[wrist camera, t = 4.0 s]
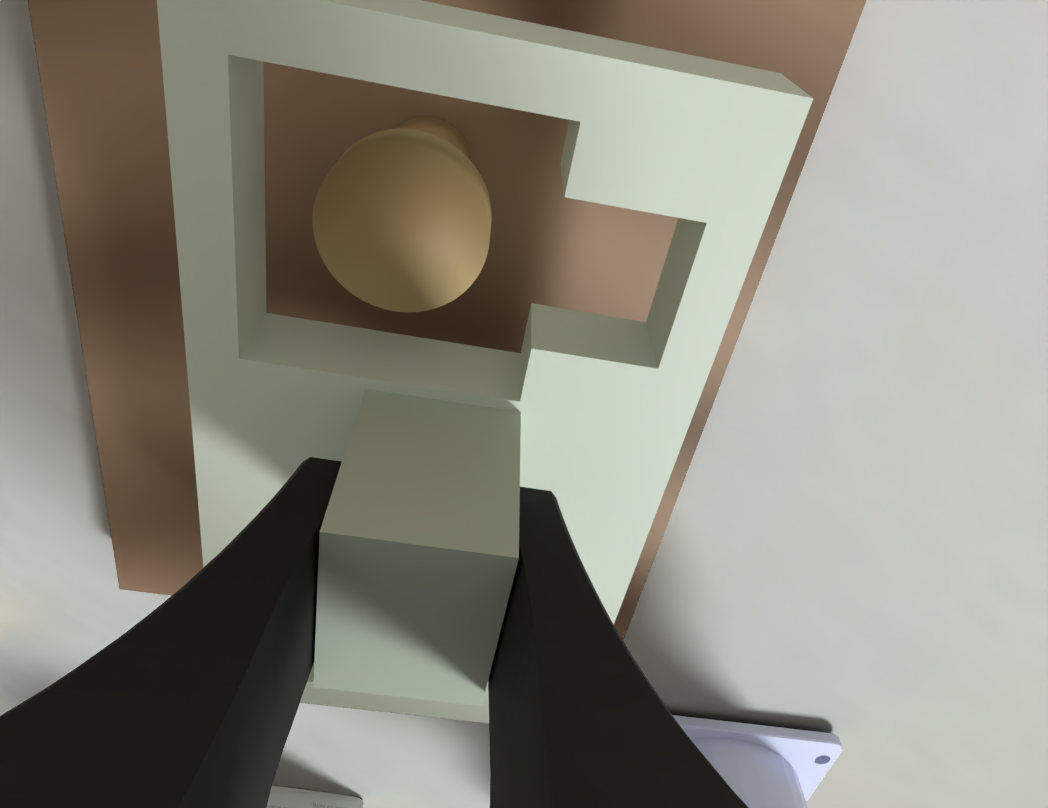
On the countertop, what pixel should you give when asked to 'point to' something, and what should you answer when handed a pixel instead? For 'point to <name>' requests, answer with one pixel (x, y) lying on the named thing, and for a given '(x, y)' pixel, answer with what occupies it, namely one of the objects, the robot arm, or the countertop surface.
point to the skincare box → (309, 799)
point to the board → (296, 276)
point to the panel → (444, 367)
